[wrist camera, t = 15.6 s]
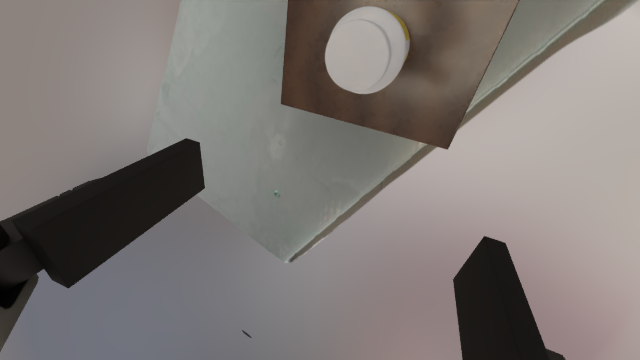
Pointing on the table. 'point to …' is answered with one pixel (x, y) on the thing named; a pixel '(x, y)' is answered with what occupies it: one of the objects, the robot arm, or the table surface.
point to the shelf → (416, 73)
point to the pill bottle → (367, 49)
